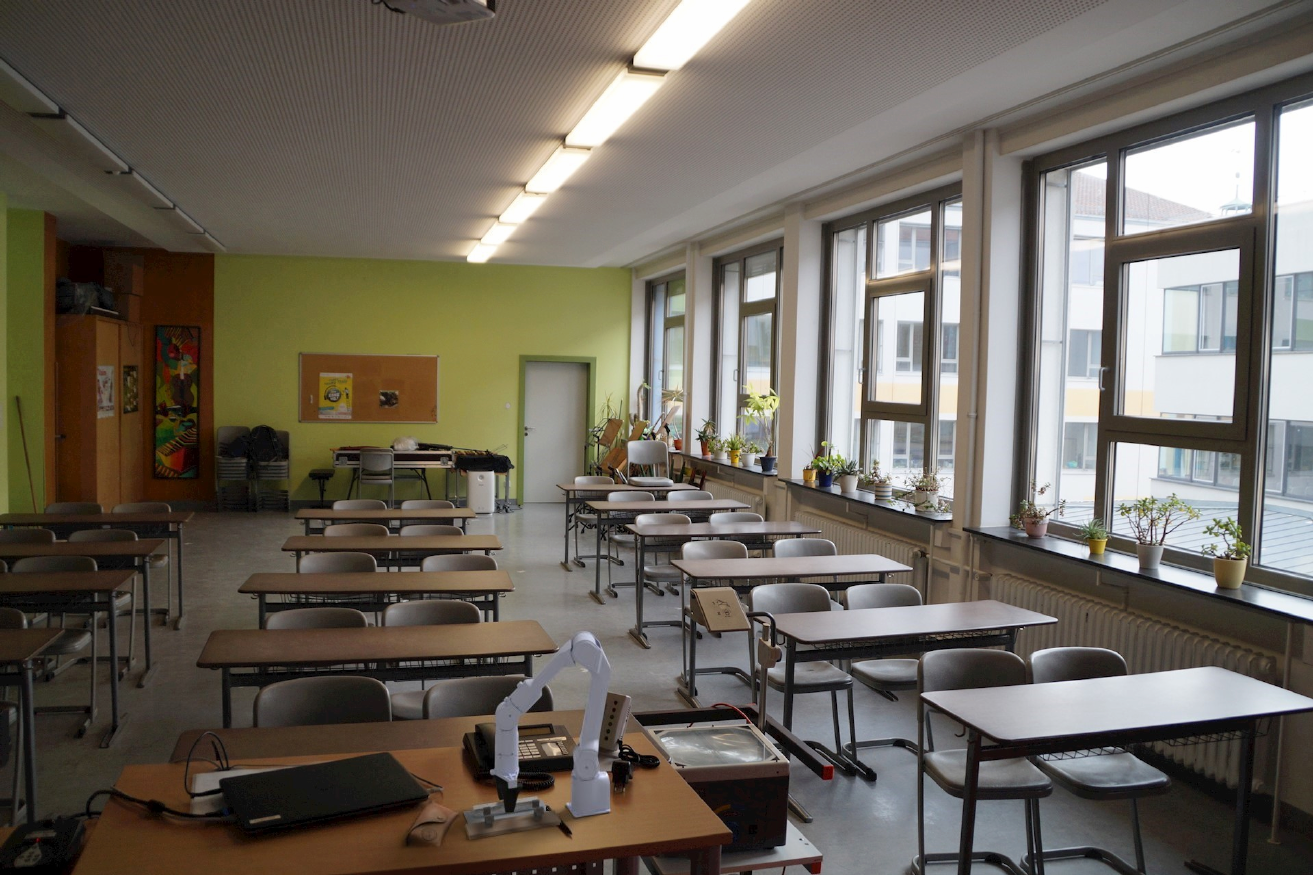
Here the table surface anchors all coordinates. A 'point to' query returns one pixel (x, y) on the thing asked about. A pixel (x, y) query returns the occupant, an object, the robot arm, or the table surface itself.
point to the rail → (499, 807)
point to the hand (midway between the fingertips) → (506, 805)
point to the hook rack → (512, 822)
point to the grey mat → (471, 819)
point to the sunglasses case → (431, 826)
